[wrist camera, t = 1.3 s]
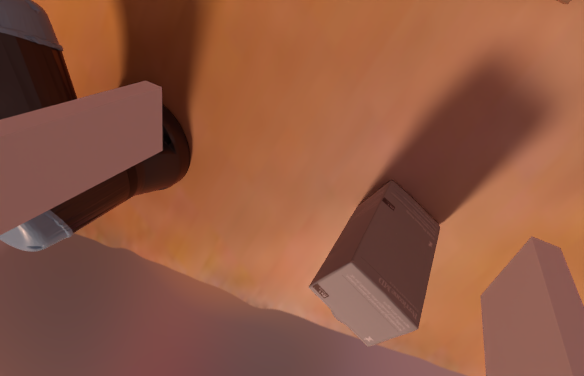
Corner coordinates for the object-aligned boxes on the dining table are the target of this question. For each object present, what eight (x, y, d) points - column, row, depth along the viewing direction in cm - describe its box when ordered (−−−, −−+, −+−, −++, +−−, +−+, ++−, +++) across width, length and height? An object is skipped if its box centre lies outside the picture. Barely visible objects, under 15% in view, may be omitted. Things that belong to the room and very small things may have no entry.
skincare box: (441, 224, 39) (431, 331, 27) (396, 251, 44) (369, 354, 31) (390, 174, 39) (356, 259, 27) (349, 207, 43) (303, 292, 31)
